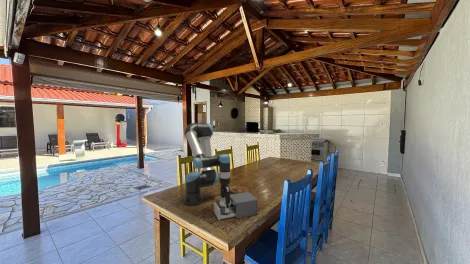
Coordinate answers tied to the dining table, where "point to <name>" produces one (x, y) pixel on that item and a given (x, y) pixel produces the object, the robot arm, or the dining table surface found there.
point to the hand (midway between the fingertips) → (225, 209)
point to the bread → (237, 190)
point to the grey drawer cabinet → (244, 204)
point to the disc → (222, 203)
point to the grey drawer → (232, 213)
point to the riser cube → (218, 201)
